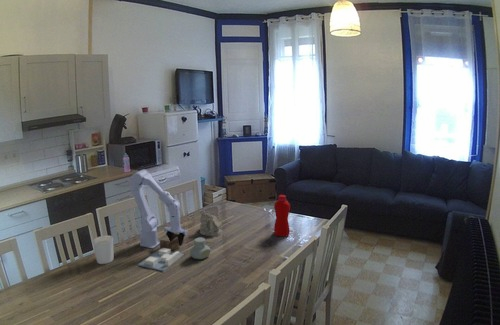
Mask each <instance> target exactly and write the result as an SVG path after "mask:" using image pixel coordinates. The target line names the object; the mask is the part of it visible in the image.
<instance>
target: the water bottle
mask: <svg viewBox="0 0 500 325" xmlns="http://www.w3.org/2000/svg"><path fill="white" fill-rule="evenodd" d="M277 198H278V200H276V201H275V203H274V212H275V214H274V215H275V222H274V225H273V226H274V227H273V232H274V235H275V237H288V236H289V235H290V225H289V216H290V217H291V216H293V214H291V215H290V210H291V204H290V202H289V201H288V199H287V198H286V195H285V194H280V195H278V196H277Z"/></svg>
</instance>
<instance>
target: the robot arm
mask: <svg viewBox="0 0 500 325" xmlns="http://www.w3.org/2000/svg"><path fill="white" fill-rule="evenodd" d="M129 180H130V190H131V193H132V195H133V198H134V200H135V204H136V205H137V207H138V211H139V213H140V216H141V217H140V218H141V219H140V224H141V227H140V228H141V230H140V232H139V241H140V242H139V243H140V244H139V246H140V247H145V248H147V249H155V247H156V246H159V245H160V240H159V239H158V228H157V226H158V225H159V219H158V218H157V217H156V216H155V214H154V213H153V212H152V211H151V208H150V207H149V203H148V201H147V199H146V196H145V193H144V191H143V186H147V187H149V188H150V189H151V190H152V191H154V192H155V193H156V194H157V196H158V199H159V200H160V201H161V202H162V203H163V204H164V206H166V207H167V208H166V209H167V212H168V213H169V225H170V226H165V227H164V228H163V229H164V230H163V231H164V232H166V233H165V235H166V237H167V238H168V241H171V240H173V239H174V233H178V235H177V237H178V240H179V246H178V247H181V246H183V239H184V238H185V236H186V235H188V230H186V229H185V228H182V227H181V212H180V209H181V207H182V204H181V202H180V200H178V199H176V198H174V197H173V196H172V195H171V193H170V192H169V191H166V190H164V189H162V188H161V186H160V185H159V184H158V183H157V181H156V180H155V179H154V178H153V176H152V174H151V173H149V171H148V170H147V169H144V168H143V169H140V170H139V171H137V172H134V173H133V174H132V175H131V177H130V178H129ZM184 240H185V239H184Z"/></svg>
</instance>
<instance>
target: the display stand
mask: <svg viewBox="0 0 500 325" xmlns="http://www.w3.org/2000/svg"><path fill="white" fill-rule="evenodd" d="M184 256H185V254H184V253H181V252H180V251H177V250H176V251H171V249H167V248H162V249H160V248H159V249H157V250H155V252H153V253H152V254H150V255H149V256H147V257H146V258H145V259H143V260H142V261H140V262H139V263H137V266H139V267H143V268H147V269H152V270H155V271H158V272H159V271H160V272H163V273H164V272H165V271H167V269H170V267H172V266H173V265H174V264H176V262H178V261H179V260H180V259H182V258H183V257H184Z"/></svg>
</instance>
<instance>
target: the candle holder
mask: <svg viewBox="0 0 500 325" xmlns="http://www.w3.org/2000/svg"><path fill="white" fill-rule="evenodd" d="M92 244H93V249H94V254H95V259H96V262H97V264H99V265H106V264H110V263H111V262H113V261H114V258H115V257H114V256H115V252H114V237H113V236H112V235H109V234H107V235H106V234H105V235H100V236H96V237H95V238H94V239H93V240H92Z"/></svg>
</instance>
